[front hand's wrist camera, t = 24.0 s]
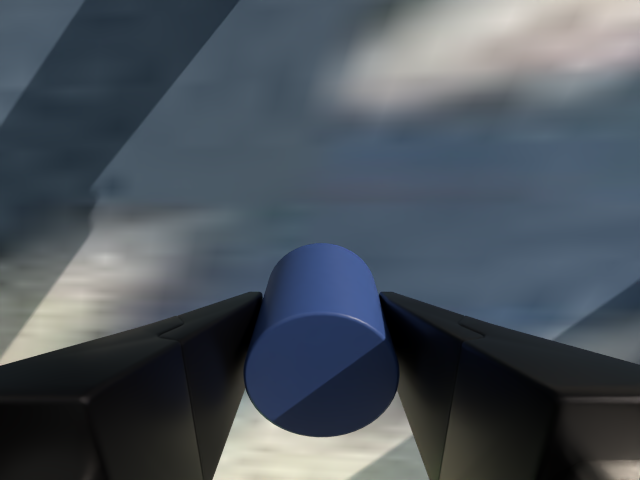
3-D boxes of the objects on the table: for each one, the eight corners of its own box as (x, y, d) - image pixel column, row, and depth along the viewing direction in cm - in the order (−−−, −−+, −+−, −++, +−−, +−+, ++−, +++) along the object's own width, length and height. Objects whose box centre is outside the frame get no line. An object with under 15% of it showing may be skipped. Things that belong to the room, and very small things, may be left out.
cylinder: (308, 353, 13) (303, 459, 9) (245, 279, 12) (209, 364, 8) (395, 304, 13) (429, 396, 9) (335, 221, 11) (343, 282, 8)
